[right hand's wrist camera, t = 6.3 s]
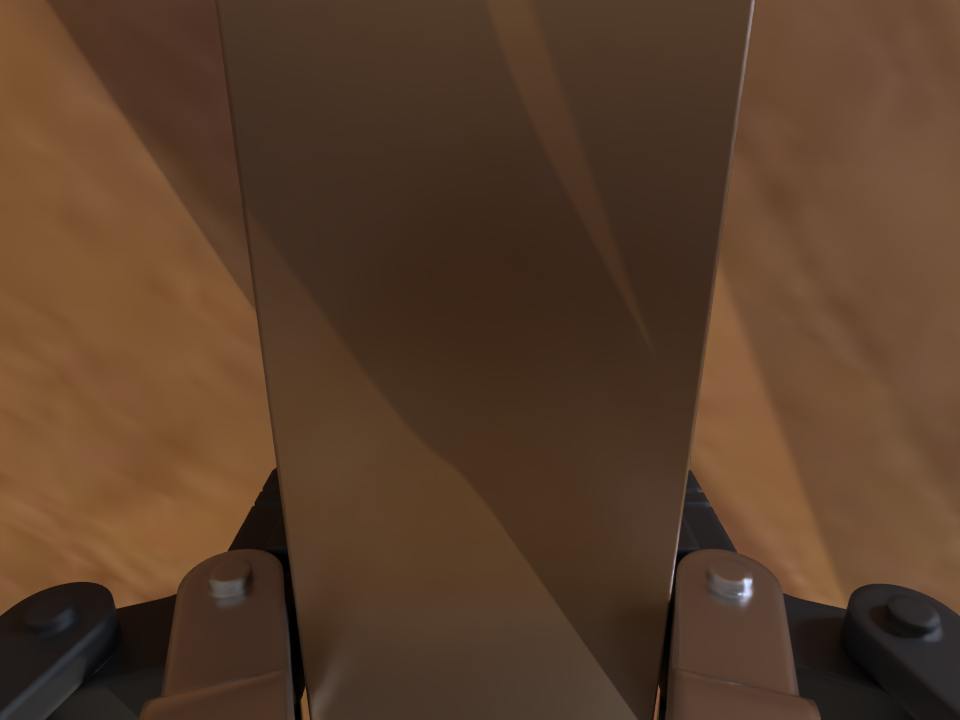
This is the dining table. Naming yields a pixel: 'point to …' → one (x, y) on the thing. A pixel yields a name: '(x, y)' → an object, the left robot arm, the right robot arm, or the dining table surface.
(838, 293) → the dining table surface
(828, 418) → the dining table surface
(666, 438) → the beam
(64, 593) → the right robot arm
